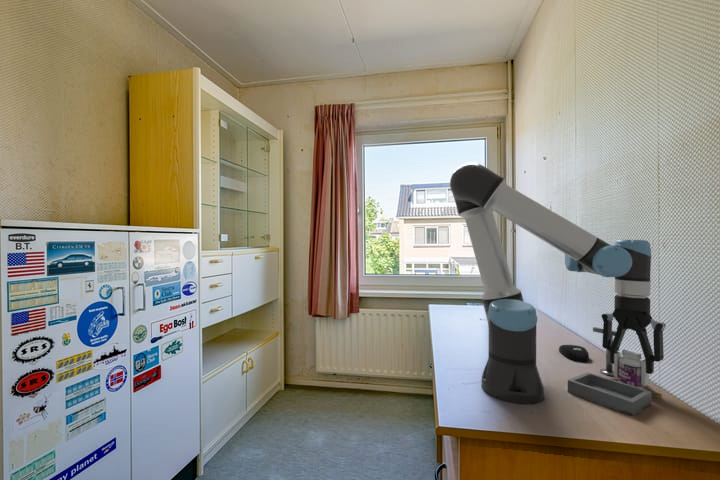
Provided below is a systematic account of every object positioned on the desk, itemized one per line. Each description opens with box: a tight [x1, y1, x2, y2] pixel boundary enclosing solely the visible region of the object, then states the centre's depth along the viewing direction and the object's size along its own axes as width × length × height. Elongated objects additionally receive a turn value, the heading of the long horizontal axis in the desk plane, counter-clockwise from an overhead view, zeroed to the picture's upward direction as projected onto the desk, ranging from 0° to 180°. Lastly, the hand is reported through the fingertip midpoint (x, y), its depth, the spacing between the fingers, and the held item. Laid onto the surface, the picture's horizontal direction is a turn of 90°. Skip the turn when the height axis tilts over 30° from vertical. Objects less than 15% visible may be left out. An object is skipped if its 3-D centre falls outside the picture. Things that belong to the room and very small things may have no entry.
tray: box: [567, 371, 652, 417], centre depth 82 cm, size 11×14×3 cm
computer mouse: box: [558, 343, 590, 363], centre depth 113 cm, size 8×12×4 cm, turn 166°
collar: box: [605, 376, 663, 399], centre depth 88 cm, size 9×9×1 cm
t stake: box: [592, 326, 617, 378], centre depth 99 cm, size 4×6×13 cm
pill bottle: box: [618, 349, 645, 390], centre depth 88 cm, size 5×5×10 cm
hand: (631, 380), depth 88 cm, fingers closed on pill bottle, 5 cm apart
